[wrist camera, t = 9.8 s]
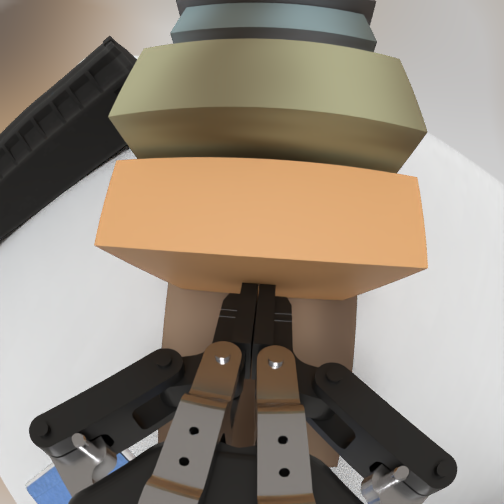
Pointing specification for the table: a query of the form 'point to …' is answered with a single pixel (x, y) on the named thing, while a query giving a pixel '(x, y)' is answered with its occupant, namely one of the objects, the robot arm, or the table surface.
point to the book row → (270, 135)
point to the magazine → (62, 135)
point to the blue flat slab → (61, 482)
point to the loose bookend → (264, 225)
